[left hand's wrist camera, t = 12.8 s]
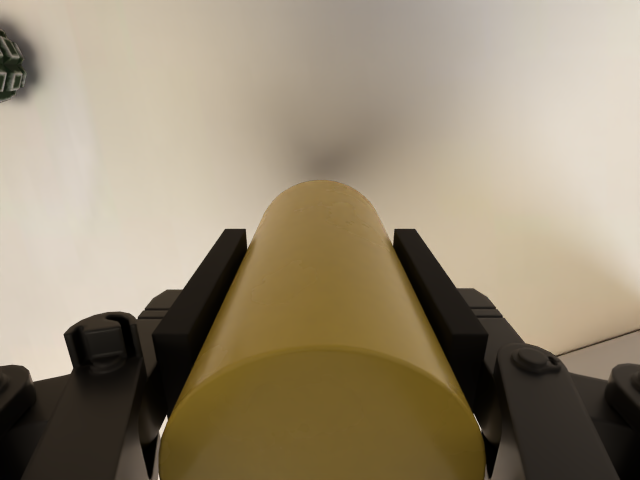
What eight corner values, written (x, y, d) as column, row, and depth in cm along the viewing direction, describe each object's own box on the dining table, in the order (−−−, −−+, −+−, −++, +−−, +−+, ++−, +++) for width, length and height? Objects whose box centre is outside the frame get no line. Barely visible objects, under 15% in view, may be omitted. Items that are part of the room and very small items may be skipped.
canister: (251, 182, 16) (120, 355, 5) (383, 176, 16) (508, 339, 5) (265, 297, 18) (188, 585, 7) (382, 292, 18) (471, 577, 7)
